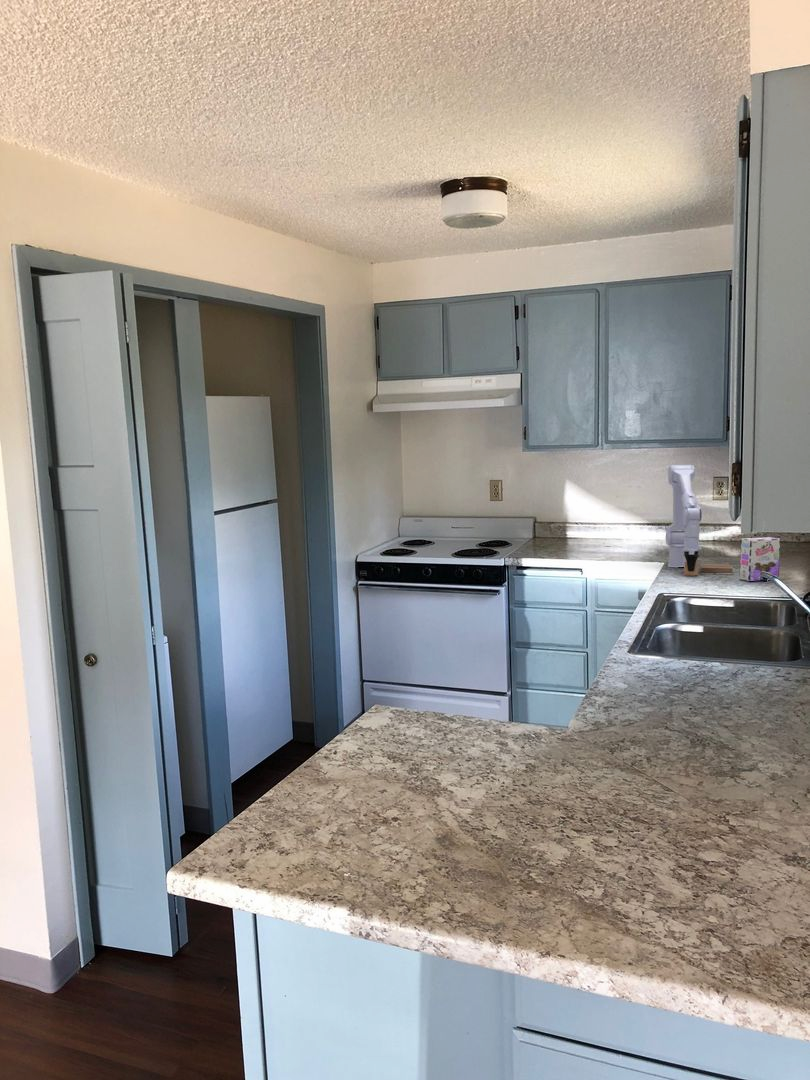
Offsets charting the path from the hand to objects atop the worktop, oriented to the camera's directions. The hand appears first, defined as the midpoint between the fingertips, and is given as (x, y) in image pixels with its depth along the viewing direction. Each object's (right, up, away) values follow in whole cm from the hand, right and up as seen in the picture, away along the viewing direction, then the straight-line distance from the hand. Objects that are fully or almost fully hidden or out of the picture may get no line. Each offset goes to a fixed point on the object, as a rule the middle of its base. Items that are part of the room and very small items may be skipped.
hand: (690, 570), depth 339 cm
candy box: (+21, -4, -16) cm, 27 cm away
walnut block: (+12, -2, +6) cm, 14 cm away
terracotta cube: (0, -2, 0) cm, 2 cm away
